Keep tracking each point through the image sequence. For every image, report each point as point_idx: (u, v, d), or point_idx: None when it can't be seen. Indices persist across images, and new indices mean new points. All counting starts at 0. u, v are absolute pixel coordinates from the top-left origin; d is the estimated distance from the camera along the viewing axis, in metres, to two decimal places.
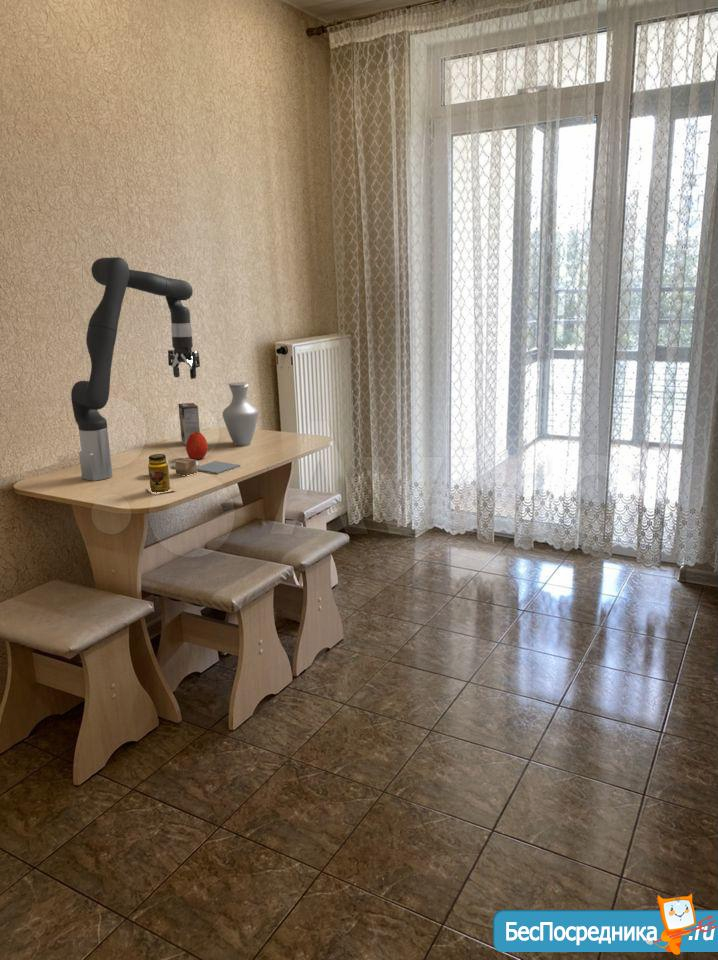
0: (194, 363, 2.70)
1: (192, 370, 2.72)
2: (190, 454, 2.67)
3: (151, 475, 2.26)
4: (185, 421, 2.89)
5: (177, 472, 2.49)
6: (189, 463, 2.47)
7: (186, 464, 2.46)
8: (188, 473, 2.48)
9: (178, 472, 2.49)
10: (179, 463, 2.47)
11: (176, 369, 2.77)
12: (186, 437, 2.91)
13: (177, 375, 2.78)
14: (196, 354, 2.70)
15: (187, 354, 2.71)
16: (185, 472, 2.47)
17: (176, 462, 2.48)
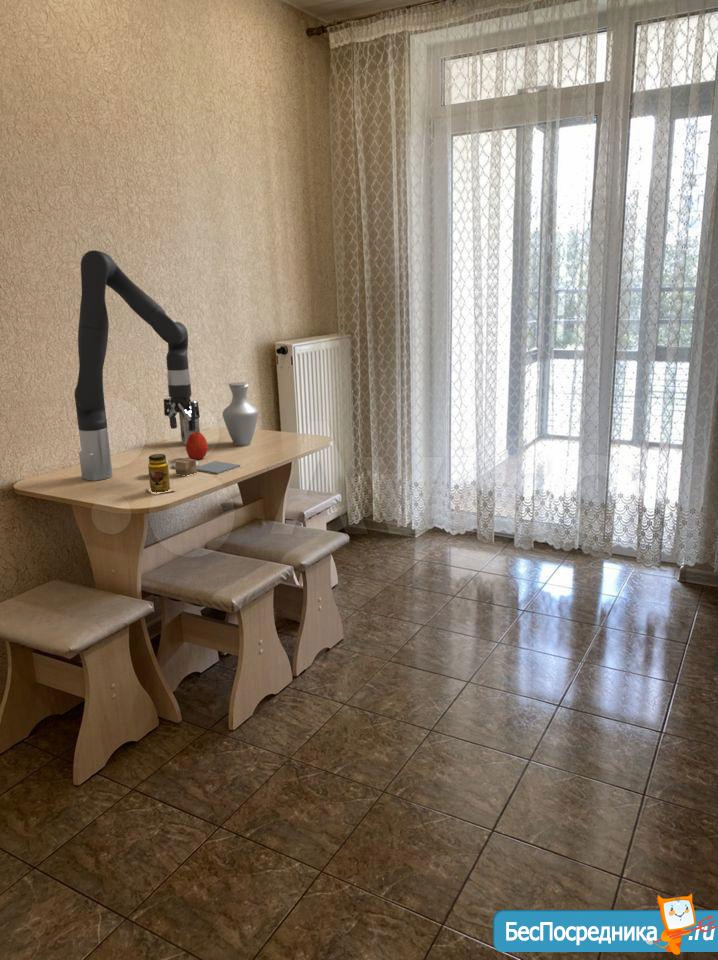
0: (193, 414, 2.40)
1: (191, 422, 2.42)
2: (190, 454, 2.67)
3: (151, 475, 2.26)
4: (185, 421, 2.89)
5: (177, 472, 2.49)
6: (189, 463, 2.47)
7: (186, 464, 2.46)
8: (188, 473, 2.48)
9: (178, 472, 2.49)
10: (179, 463, 2.47)
11: (173, 420, 2.47)
12: (186, 437, 2.91)
13: (174, 426, 2.48)
14: (195, 404, 2.40)
15: (185, 404, 2.41)
16: (185, 472, 2.47)
17: (176, 462, 2.48)
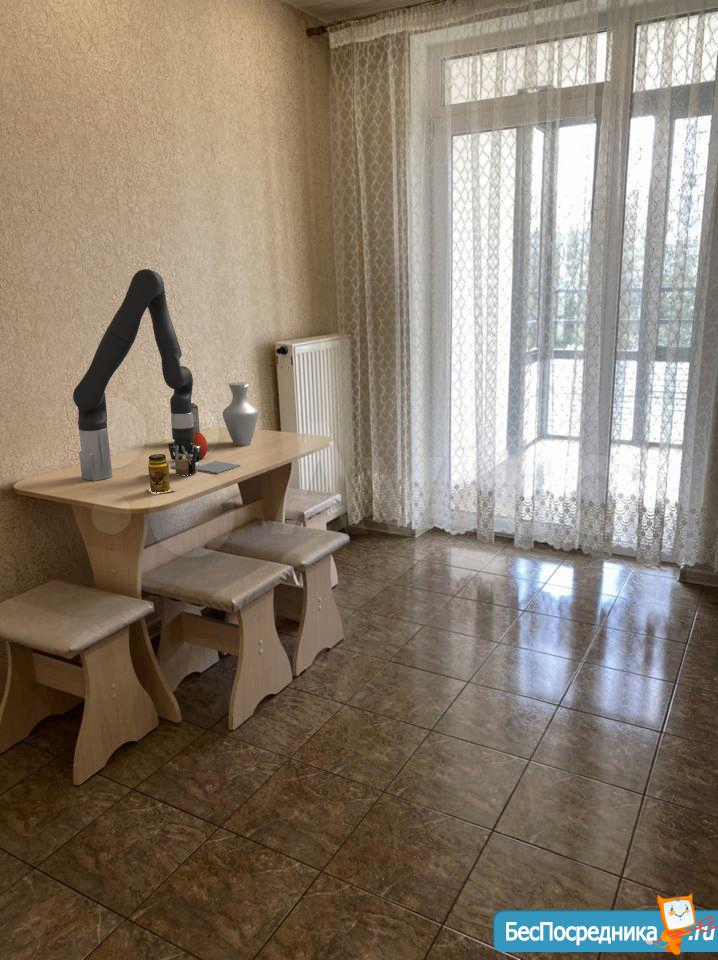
0: (194, 459, 2.45)
1: (191, 465, 2.47)
2: (190, 454, 2.67)
3: (152, 475, 2.26)
4: None
5: (177, 472, 2.49)
6: None
7: (186, 464, 2.46)
8: (188, 473, 2.47)
9: (178, 472, 2.49)
10: (179, 463, 2.47)
11: None
12: None
13: None
14: (198, 450, 2.44)
15: (188, 448, 2.45)
16: (185, 472, 2.47)
17: (176, 462, 2.48)
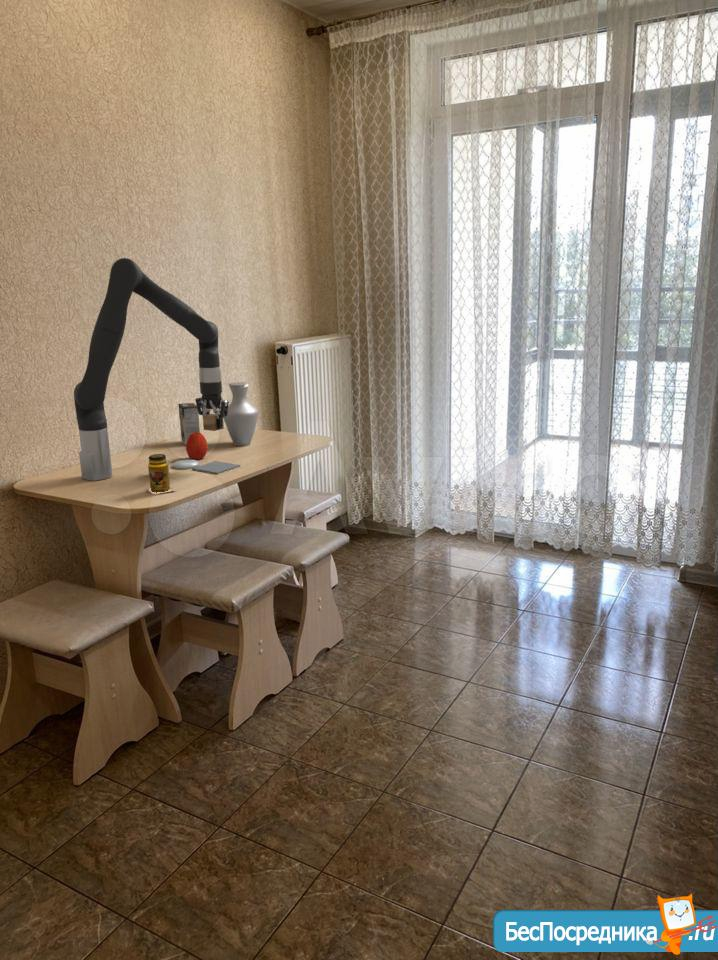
0: (222, 413, 2.48)
1: (219, 420, 2.50)
2: (190, 454, 2.67)
3: (151, 475, 2.26)
4: (185, 421, 2.89)
5: (204, 427, 2.52)
6: None
7: (214, 418, 2.49)
8: (216, 427, 2.50)
9: (206, 426, 2.52)
10: (207, 417, 2.50)
11: None
12: (186, 437, 2.91)
13: None
14: (226, 404, 2.47)
15: (216, 402, 2.48)
16: (212, 426, 2.50)
17: (204, 416, 2.51)
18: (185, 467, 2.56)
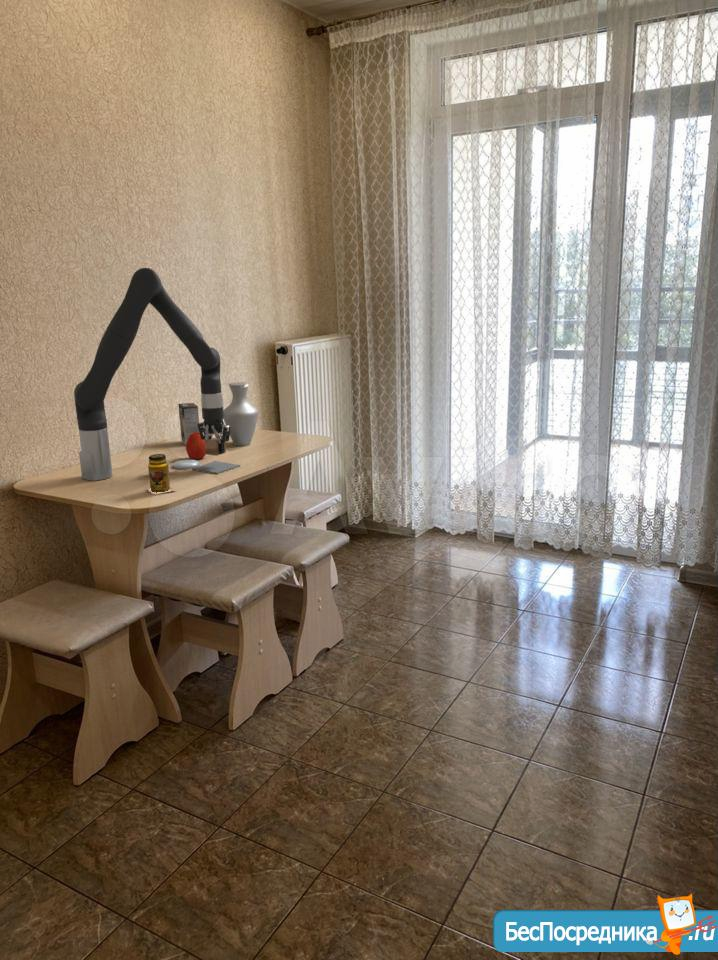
0: (224, 438, 2.50)
1: (221, 445, 2.53)
2: (190, 454, 2.67)
3: (151, 475, 2.26)
4: (185, 421, 2.89)
5: (207, 451, 2.54)
6: None
7: (216, 443, 2.52)
8: (218, 452, 2.53)
9: (208, 451, 2.54)
10: (209, 442, 2.53)
11: None
12: (186, 437, 2.91)
13: None
14: (228, 429, 2.50)
15: (218, 428, 2.51)
16: (214, 451, 2.52)
17: (206, 441, 2.54)
18: (185, 467, 2.56)
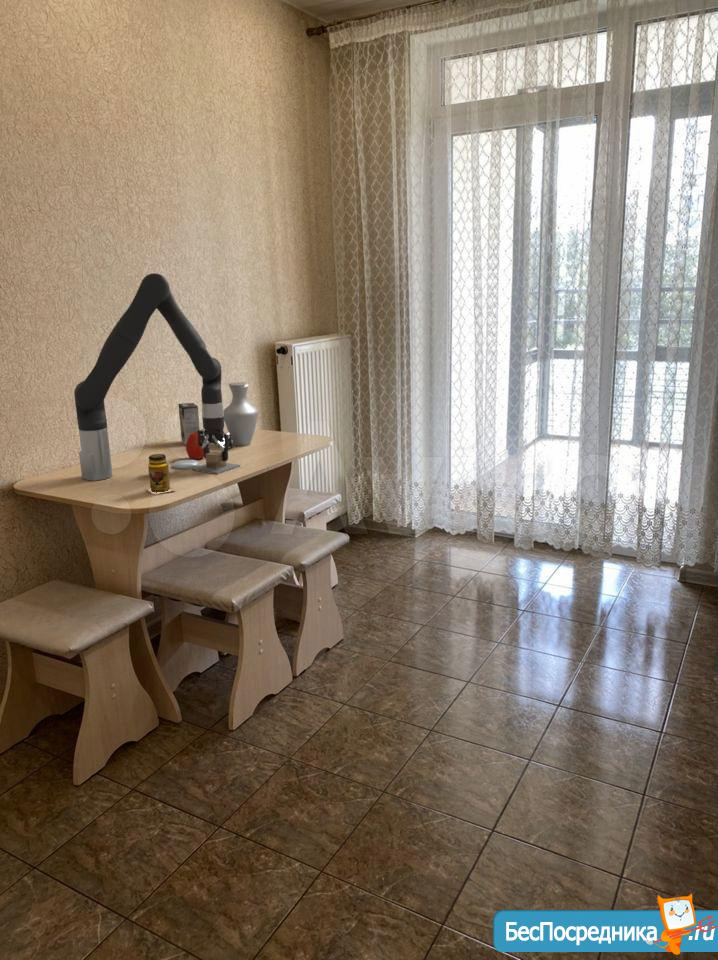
0: (226, 446, 2.50)
1: (224, 453, 2.52)
2: (190, 454, 2.67)
3: (152, 475, 2.26)
4: (185, 421, 2.89)
5: (207, 464, 2.56)
6: (219, 456, 2.54)
7: (216, 456, 2.53)
8: (218, 465, 2.54)
9: (208, 464, 2.55)
10: (209, 456, 2.54)
11: (206, 450, 2.57)
12: (186, 437, 2.91)
13: None
14: (228, 436, 2.50)
15: (219, 436, 2.51)
16: (215, 465, 2.54)
17: (206, 455, 2.55)
18: (185, 467, 2.56)
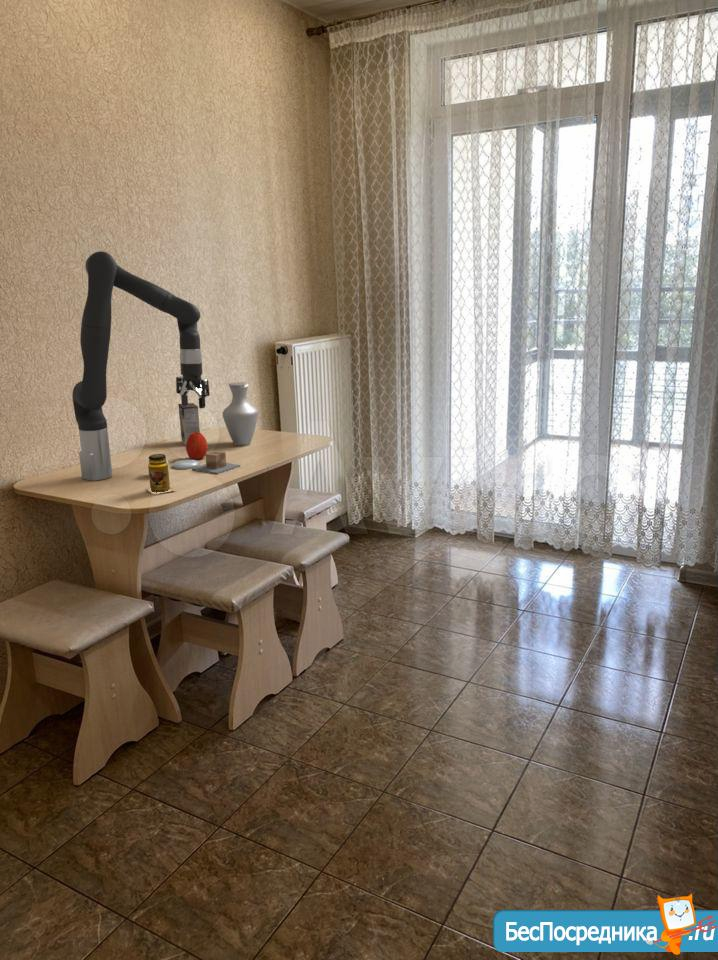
0: (203, 392, 2.51)
1: (201, 399, 2.53)
2: (190, 454, 2.67)
3: (151, 475, 2.26)
4: (185, 421, 2.89)
5: (207, 464, 2.56)
6: (219, 456, 2.54)
7: (216, 456, 2.53)
8: (218, 465, 2.54)
9: (208, 464, 2.55)
10: (209, 456, 2.54)
11: (184, 397, 2.58)
12: (186, 437, 2.91)
13: (185, 404, 2.59)
14: (206, 382, 2.51)
15: (196, 382, 2.52)
16: (215, 465, 2.54)
17: (206, 455, 2.55)
18: (185, 467, 2.56)
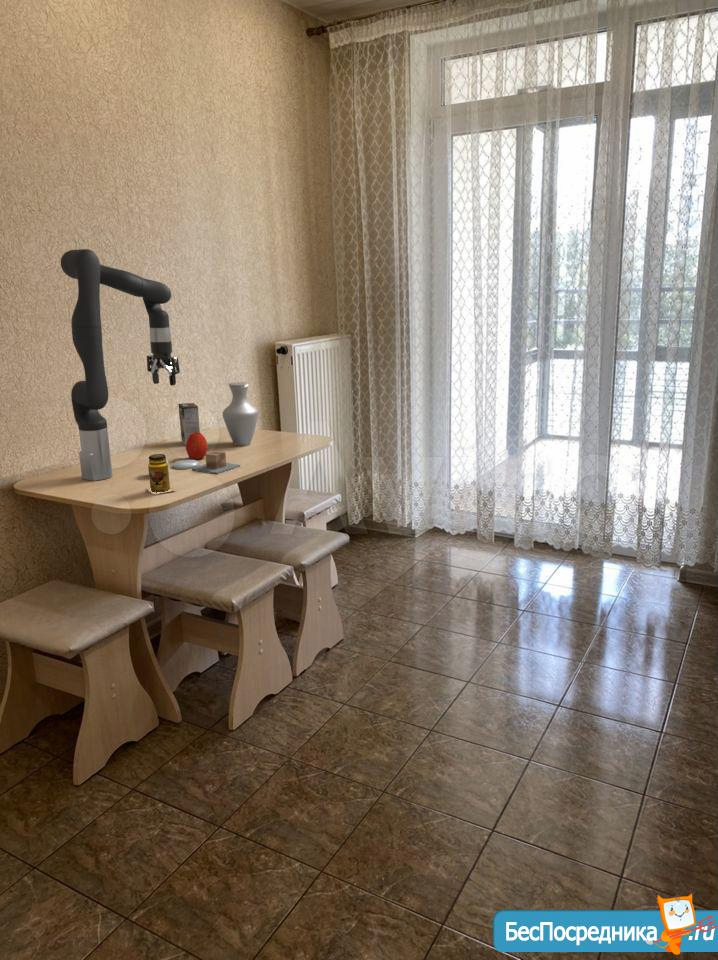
0: (173, 369, 2.59)
1: (171, 376, 2.61)
2: (190, 454, 2.67)
3: (151, 475, 2.26)
4: (185, 421, 2.89)
5: (207, 464, 2.56)
6: (219, 456, 2.54)
7: (216, 456, 2.53)
8: (218, 465, 2.54)
9: (208, 464, 2.55)
10: (209, 456, 2.54)
11: (155, 375, 2.66)
12: (186, 437, 2.91)
13: (156, 381, 2.67)
14: (175, 360, 2.59)
15: (166, 360, 2.60)
16: (215, 465, 2.54)
17: (206, 455, 2.55)
18: (185, 467, 2.56)
